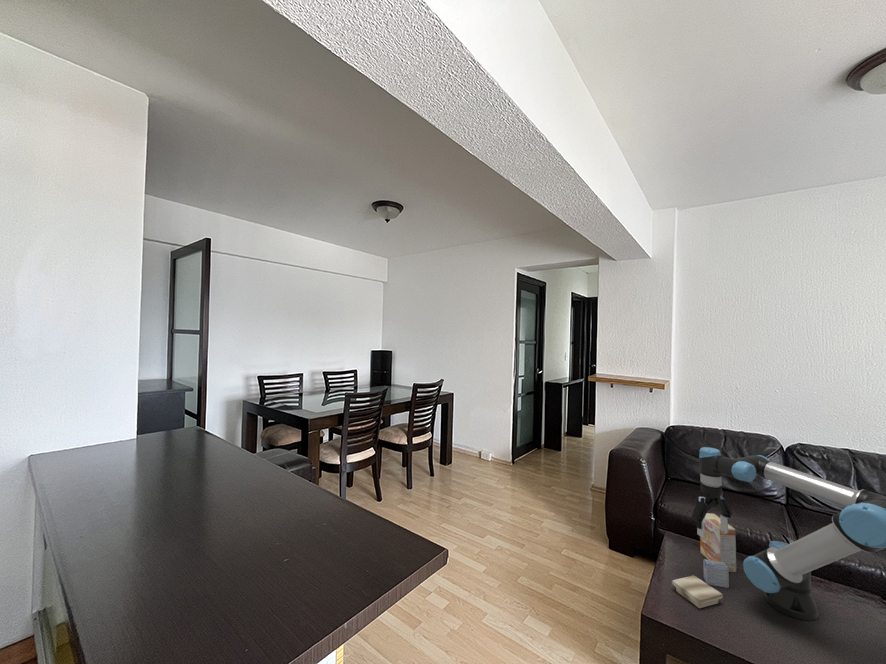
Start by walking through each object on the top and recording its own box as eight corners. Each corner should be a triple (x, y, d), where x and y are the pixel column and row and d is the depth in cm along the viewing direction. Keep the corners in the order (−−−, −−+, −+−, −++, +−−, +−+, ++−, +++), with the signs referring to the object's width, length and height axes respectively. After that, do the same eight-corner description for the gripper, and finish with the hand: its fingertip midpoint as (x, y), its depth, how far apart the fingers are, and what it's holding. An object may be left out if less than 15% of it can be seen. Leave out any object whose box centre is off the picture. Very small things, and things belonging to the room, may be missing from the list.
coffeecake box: (699, 552, 176) (699, 512, 177) (715, 553, 175) (714, 513, 176) (720, 571, 161) (719, 528, 162) (737, 572, 160) (736, 528, 161)
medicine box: (724, 582, 154) (724, 561, 154) (729, 589, 150) (728, 568, 150) (703, 578, 157) (702, 558, 157) (707, 584, 152) (706, 564, 153)
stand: (722, 604, 141) (722, 594, 141) (699, 610, 137) (699, 600, 138) (693, 584, 152) (693, 575, 152) (672, 590, 149) (672, 580, 149)
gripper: (723, 478, 163) (725, 525, 162) (681, 484, 156) (682, 533, 155) (740, 484, 156) (743, 533, 155) (697, 490, 149) (699, 542, 148)
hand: (712, 533), depth 155 cm, fingers open, 13 cm apart
